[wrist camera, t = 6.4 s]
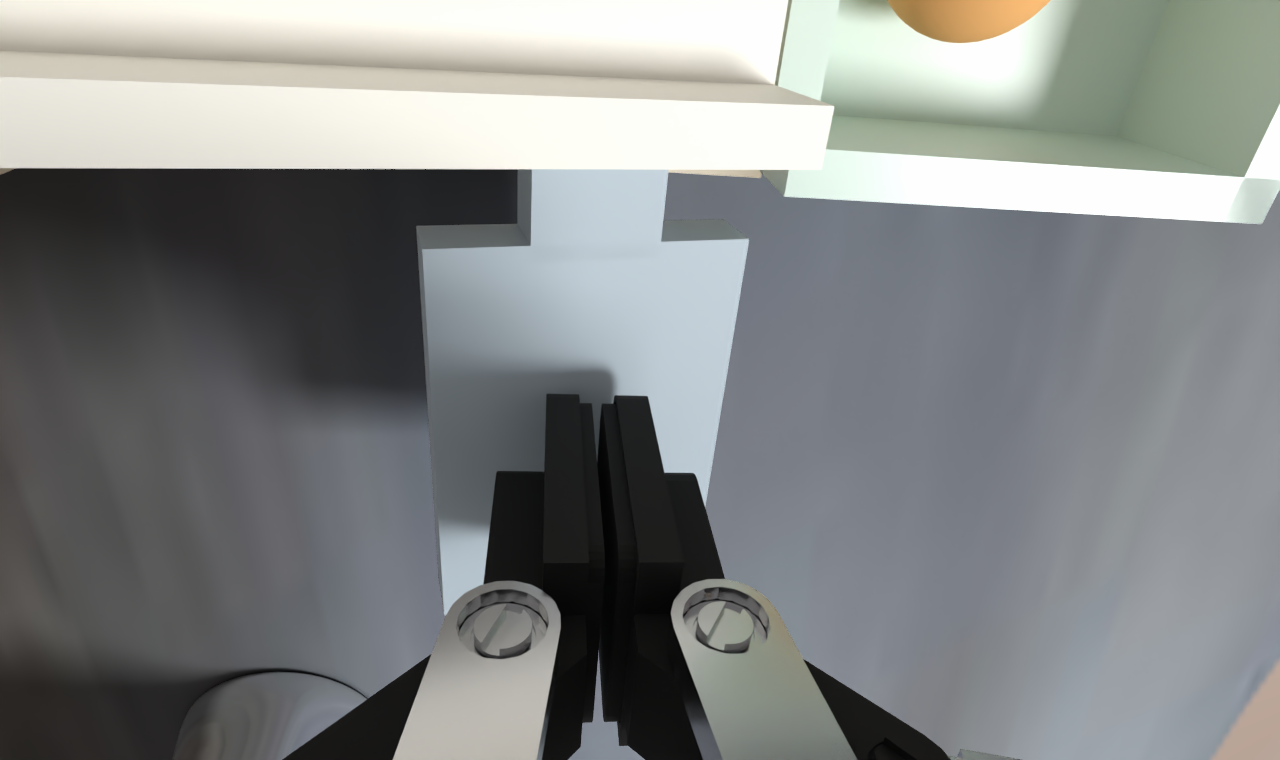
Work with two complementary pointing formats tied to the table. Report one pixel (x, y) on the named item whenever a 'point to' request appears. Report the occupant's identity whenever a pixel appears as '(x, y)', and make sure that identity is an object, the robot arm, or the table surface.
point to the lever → (465, 139)
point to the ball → (965, 17)
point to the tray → (1046, 109)
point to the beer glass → (262, 716)
